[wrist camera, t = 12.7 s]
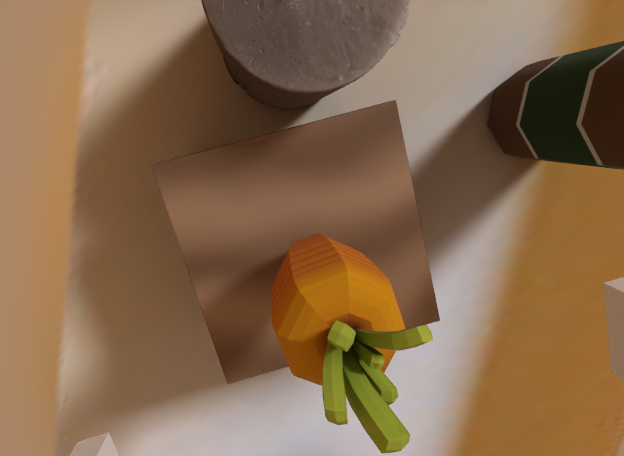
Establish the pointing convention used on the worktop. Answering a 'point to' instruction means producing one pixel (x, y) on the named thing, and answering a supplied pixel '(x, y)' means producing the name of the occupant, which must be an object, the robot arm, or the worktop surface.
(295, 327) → the carrot
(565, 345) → the worktop surface
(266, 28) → the pillar candle
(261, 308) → the walnut stool
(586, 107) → the beer bottle
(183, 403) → the worktop surface
